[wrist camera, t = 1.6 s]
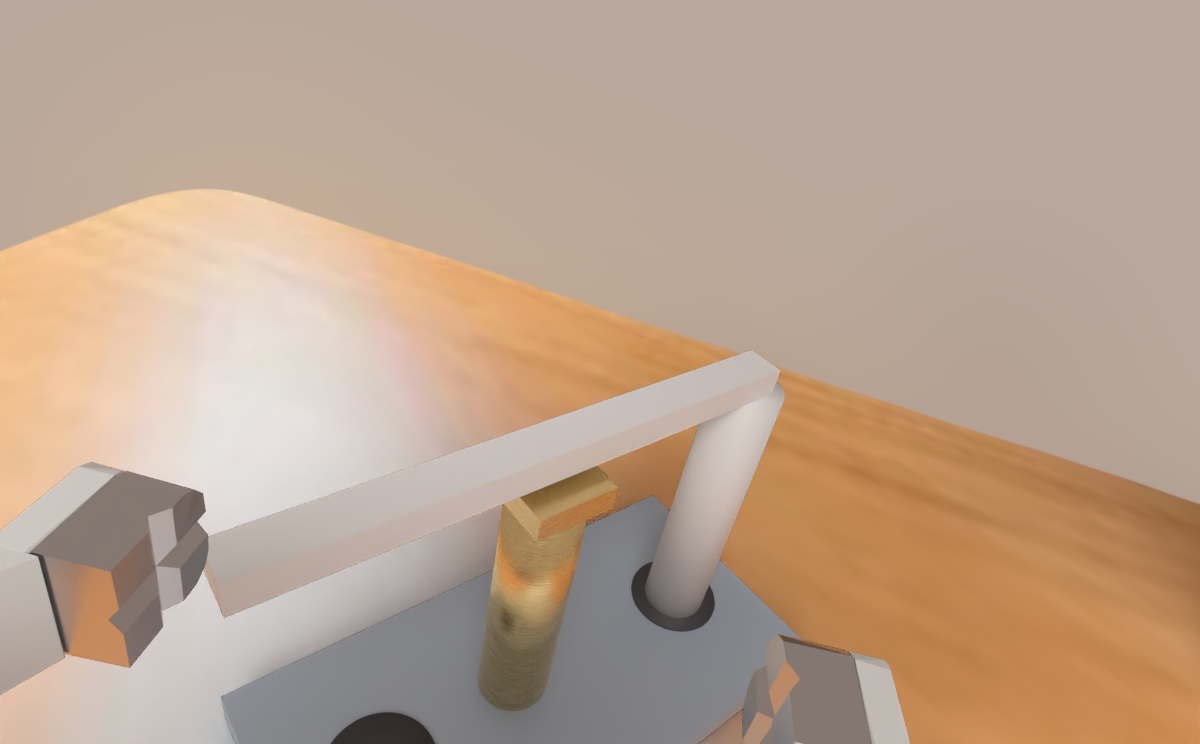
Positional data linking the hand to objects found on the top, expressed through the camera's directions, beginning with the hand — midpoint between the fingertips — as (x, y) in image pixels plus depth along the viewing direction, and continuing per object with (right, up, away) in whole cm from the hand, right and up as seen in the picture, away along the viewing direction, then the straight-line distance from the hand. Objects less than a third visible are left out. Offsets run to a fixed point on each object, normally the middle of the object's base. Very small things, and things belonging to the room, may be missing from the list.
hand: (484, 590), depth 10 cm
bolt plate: (-1, -12, +24) cm, 26 cm away
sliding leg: (-2, -10, +21) cm, 24 cm away
